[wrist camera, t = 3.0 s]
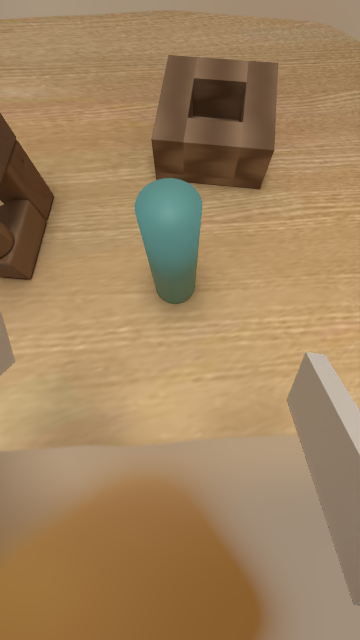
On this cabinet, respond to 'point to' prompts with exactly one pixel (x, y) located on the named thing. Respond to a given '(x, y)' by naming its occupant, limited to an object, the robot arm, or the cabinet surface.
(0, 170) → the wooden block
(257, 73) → the socket block
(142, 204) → the peg
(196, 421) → the cabinet surface
